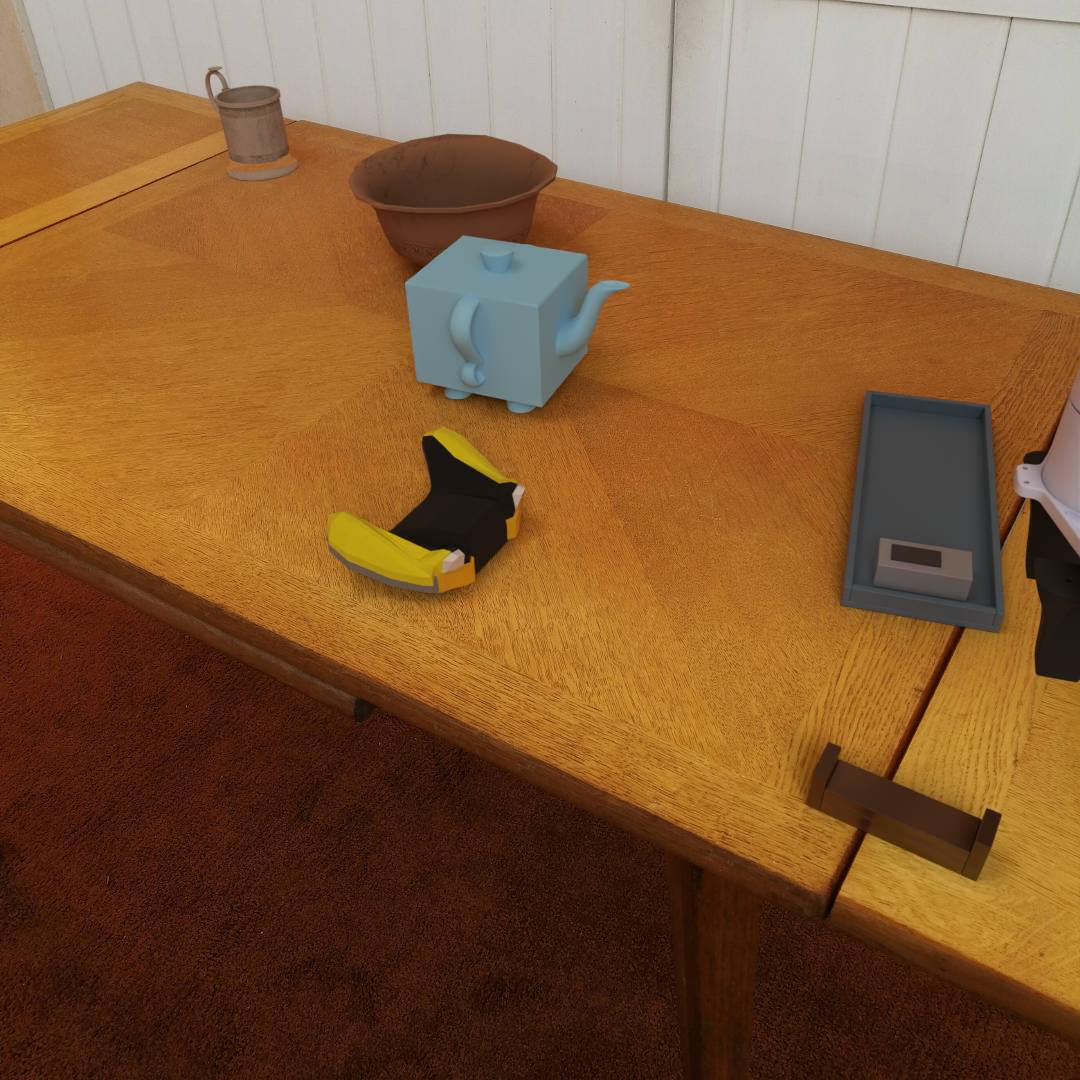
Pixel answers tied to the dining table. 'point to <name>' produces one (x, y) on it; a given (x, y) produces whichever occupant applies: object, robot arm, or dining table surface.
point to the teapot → (503, 319)
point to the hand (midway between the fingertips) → (1050, 623)
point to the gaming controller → (436, 523)
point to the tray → (925, 503)
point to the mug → (251, 126)
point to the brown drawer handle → (902, 815)
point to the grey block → (923, 569)
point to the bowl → (452, 191)
